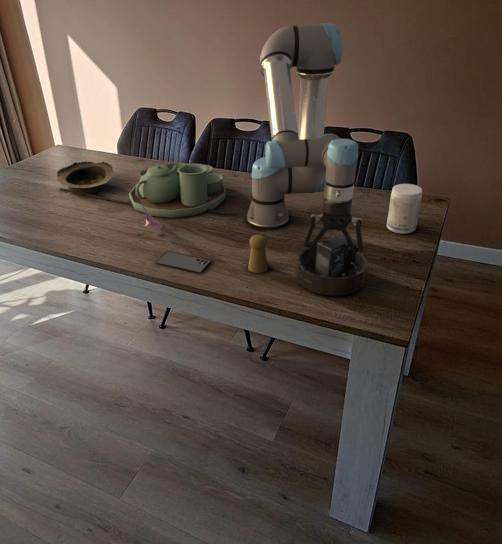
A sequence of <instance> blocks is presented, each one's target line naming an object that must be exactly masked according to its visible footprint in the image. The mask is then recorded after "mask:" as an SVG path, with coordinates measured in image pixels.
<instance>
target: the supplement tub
mask: <svg viewBox="0 0 502 544" xmlns="http://www.w3.org/2000/svg"><path fill="white" fill-rule="evenodd" d="M422 198H423V188H422V187H421V186H419V185H416V184H412V183H399V184H395V185H394V186H393V187H392V190H391V194H390V201H389V206H388V214H387V220H386V221H387V222H386V228H387V229H388V230H389V231H390V232H393V233H395V234H402V235H403V234H405V235H406V234H411V233H413V232H414V231H416V229H417V225H418V219H419V215H420V209H421V203H422Z"/></svg>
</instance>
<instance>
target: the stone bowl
mask: <svg viewBox="0 0 502 544" xmlns="http://www.w3.org/2000/svg"><path fill="white" fill-rule="evenodd" d="M114 174H115V172H114V169H113V166H112V165H111V164H110V163H108V162H105V161H101V162H93V161H80V162H73V163H72V164H70V165H67V166H64V167H62V168H60V169H59V170H57V172H56V177H57V178H56V180H57V181H58V182H59V183H60V184H61V185H62V186H64V187H67V189H68V190H70V191H71V192H70V193H72V194H76V195H79V196H85V195H84V194H86V193H88V194H92V195H94V194H95V193H96V192H98V191H100V190H102V189H103V188H104V187H105V186H106V184H107V183H108V182H109V181H110V180H111V179H113V177H114ZM73 192H74V193H73Z"/></svg>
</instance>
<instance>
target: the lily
mask: <svg viewBox="0 0 502 544" xmlns="http://www.w3.org/2000/svg"><path fill="white" fill-rule="evenodd" d="M142 207H143V206H142ZM143 209H144V211H145V213H142V214H141V216H142V218H144V219H145V225H144V227H142V230H141V232H140V234H142V233H143V231H144V229H145V228H146V227H151V228H152V230H153V231H156V232H157V233H158V234H159V235H160V236H162V234H161V231H160V230H159V229H163V226H162V225H161V224H160V222H159V221H158V220H157V219H155V218H154V216H152V215H151V214H149V213H148V211H147V210H146V209H145V208H144V207H143Z"/></svg>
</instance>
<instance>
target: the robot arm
mask: <svg viewBox="0 0 502 544" xmlns="http://www.w3.org/2000/svg"><path fill="white" fill-rule="evenodd" d="M342 57H343V42H342V36H341V32H340V28H339V27H338V26H337V25H336V24H334V23H323V22H320V23H311V24H299V25H298V24H297V25H286V26H283V27H281V28H278V29H277V30H276V31H275V32H273V33H272V34H271V35H270V36H269V38H268V39H267V40H266V42H265V44H264V45H263V47H262V50H261V52H260V56H259V70H260V74H261V75H262V76H263V77H264V83H265V91H266V102H267V112H268V113H267V114H268V121H269V130H270V139H271V140H270V141H267V142H266V144H265V148H264V149H265V150H264V151H265V156H263V157H260V158H258V159H257V160H255V161H254V162H253V164H252V168H251V202H250V204H249V208H248V211H247V212H239V211H238V212H237V211H235V212H228V211H227V212H226V211H220V210H215V209H211V210H207V211H205V212H204V213H206V212H207V213H213V214H219V215H229V216H232V215H233V216H235V215H237V216H239V215H241V216H243V215H244V216H246V222H247V223H248V225H250V226H251V227H253V228H257V229H261V230H275V229H279V228H282V227H285V226H286V225H287V224H288V223H289V217H290V216H289V211H288V208H287V205H286V202H285V195H295V194H297V195H298V194H315V193H322V192H323V193H324V194H323V202H322V212H321V213H320V214H316V213H313V212H312V213H311V215H310V220H309V221H310V224H309V226H308V229H307V233H306V236H305V239H304V242H303V246H304V248H309V249H310V253H309V257H310V258H313V265H312V270H315V262H316V252H317V246H316V245H317V243H318V242H321V239H322V238H323V237H324V235H325V234H326V233H327V231H338V232H341V233H342V235H343V236H344V239H345V240H346V241H347V243H348V245H349V248H350V249H349V255H348V263H347V272H346V273H349V270H350V262H355V256H356V253H357V252H359V253H362V252H364V241H363V234H362V223H363V222H362V221H363V217H362V216H358V217H355V216H353V215H352V208H353V197H354V192H355V191H354V190H355V182H356V181H355V180H356V173H357V166H358V159H359V144H358V142H357V141H355V140H352V139H350V138H341V137H339V136H338V135H337V134H334V133H325V126H326V112H327V100H328V91H329V90H328V88H329V86H328V85H329V78H330V76H331V75H332V74H333V73H334V72H335V66H338V65H339V64H340V63H341V62H342ZM293 68H296V71H295V73H296V75H298V76H299V77H300V87H299V104H298V122H297V115H296V109H295V108H296V107H295V100H294V93H293V86H292V85H293V84H292V78H291V71H292V69H293ZM59 190H60V191H64V192H70V193H72V192H71V191H70V190H69V188H62V187H60V188H59ZM83 196H89V197H92V198H97V199H101V200H106V201H110V202H114V203H119V204H124V205H129V206H133V204H132V202H128V201H123V200H117V199H113V198H108V197H104V196H100V195H96V194H88V193H86V194H84V195H83ZM319 220H320V221H321V222H322V223H323V225H322V226H321V228H320V230H319V231H318V232H317V234H316V235H315V237H314V238H313V239H312V241H311V238H312V235H313V233H314V230H315V227H316V224H317V223H318V222H319ZM350 223H352V224H353V226H354V227H355V234H356V241H357V242H356V243H357V244H356V243H355V240H354V239H353V236H352V234H351V232H350V230H349V227H348V225H350Z"/></svg>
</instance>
